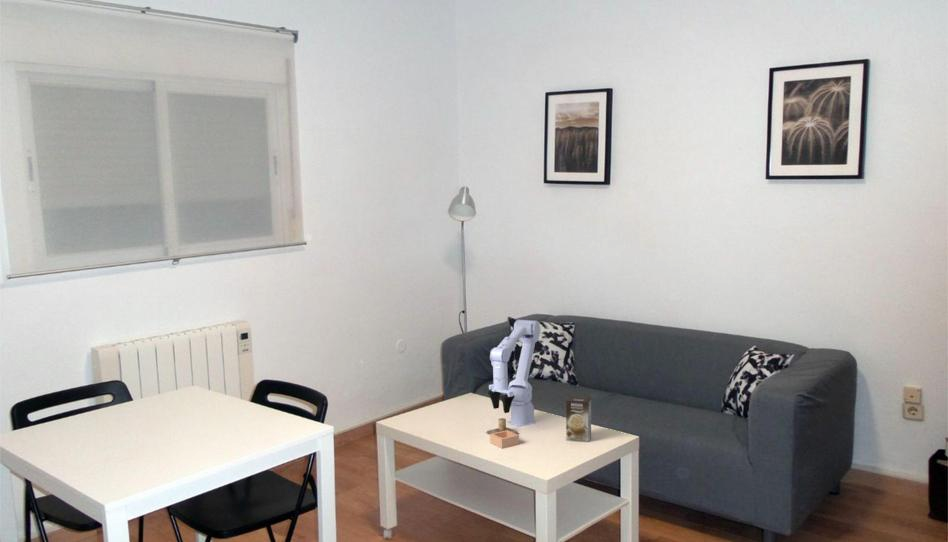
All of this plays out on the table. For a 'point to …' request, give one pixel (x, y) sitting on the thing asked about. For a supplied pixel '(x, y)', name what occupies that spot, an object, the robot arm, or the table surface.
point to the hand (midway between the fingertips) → (501, 410)
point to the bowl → (504, 439)
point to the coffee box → (578, 419)
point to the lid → (501, 427)
